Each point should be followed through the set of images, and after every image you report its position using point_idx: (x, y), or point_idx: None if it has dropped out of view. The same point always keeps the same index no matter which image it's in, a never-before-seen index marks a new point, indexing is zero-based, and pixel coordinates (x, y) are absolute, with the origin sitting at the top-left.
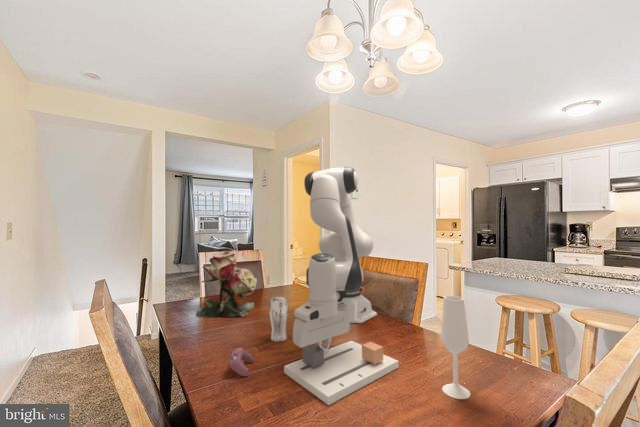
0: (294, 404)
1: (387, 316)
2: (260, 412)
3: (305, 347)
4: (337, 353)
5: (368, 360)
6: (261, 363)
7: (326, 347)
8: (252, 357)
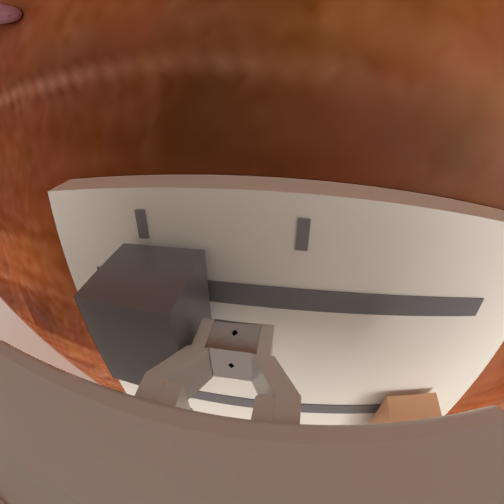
0: (71, 335)
1: None
2: (14, 298)
3: (92, 300)
4: (385, 297)
5: (374, 418)
6: (36, 38)
7: (248, 378)
8: (4, 18)
